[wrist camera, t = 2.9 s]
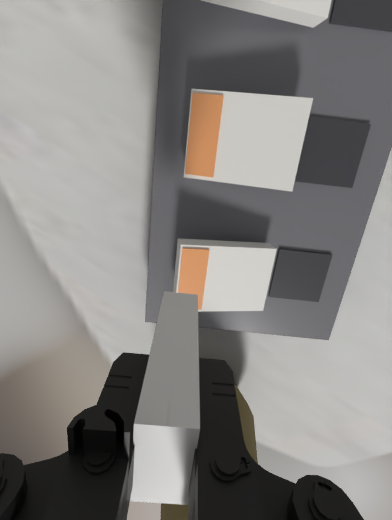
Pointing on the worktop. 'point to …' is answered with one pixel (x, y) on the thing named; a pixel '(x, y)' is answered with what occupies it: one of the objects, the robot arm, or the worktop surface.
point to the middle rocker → (245, 138)
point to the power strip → (311, 159)
